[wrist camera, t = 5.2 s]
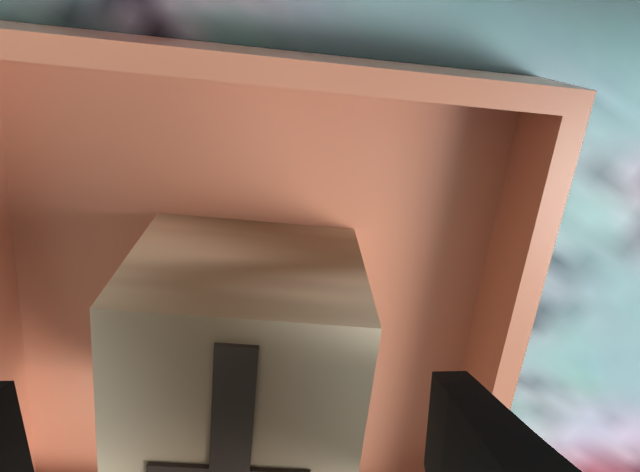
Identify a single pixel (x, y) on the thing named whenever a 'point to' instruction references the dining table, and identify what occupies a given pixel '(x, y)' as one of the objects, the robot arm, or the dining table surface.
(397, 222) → the terracotta tray
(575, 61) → the dining table surface
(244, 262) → the letter cube
